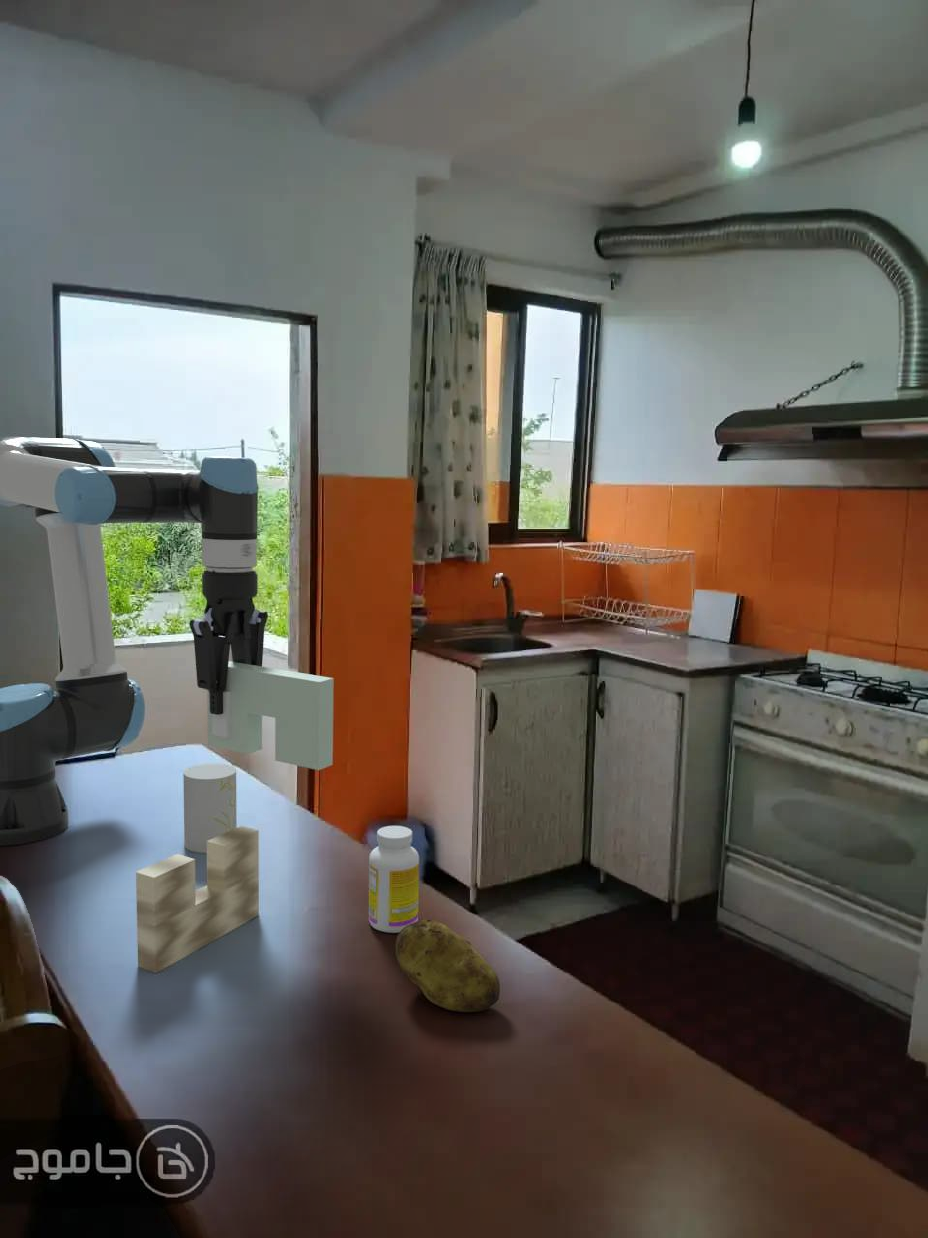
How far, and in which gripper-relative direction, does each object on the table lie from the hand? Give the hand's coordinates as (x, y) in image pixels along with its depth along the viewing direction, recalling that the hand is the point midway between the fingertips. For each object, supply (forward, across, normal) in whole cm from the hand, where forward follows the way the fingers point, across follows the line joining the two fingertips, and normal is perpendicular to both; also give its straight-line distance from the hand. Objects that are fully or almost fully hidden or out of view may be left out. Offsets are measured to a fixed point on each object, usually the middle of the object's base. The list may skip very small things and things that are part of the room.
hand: (230, 732), depth 134 cm
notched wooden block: (+22, -15, -9) cm, 28 cm away
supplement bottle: (+23, +2, -27) cm, 35 cm away
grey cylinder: (+23, +9, +13) cm, 28 cm away
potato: (+23, -10, -42) cm, 49 cm away
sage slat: (+2, 0, -7) cm, 7 cm away
